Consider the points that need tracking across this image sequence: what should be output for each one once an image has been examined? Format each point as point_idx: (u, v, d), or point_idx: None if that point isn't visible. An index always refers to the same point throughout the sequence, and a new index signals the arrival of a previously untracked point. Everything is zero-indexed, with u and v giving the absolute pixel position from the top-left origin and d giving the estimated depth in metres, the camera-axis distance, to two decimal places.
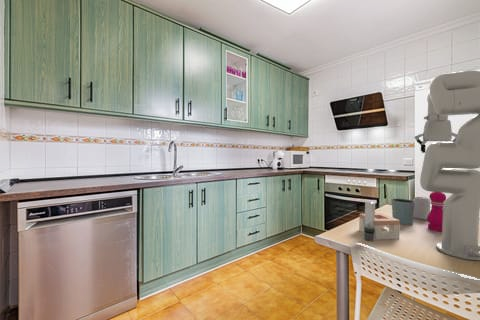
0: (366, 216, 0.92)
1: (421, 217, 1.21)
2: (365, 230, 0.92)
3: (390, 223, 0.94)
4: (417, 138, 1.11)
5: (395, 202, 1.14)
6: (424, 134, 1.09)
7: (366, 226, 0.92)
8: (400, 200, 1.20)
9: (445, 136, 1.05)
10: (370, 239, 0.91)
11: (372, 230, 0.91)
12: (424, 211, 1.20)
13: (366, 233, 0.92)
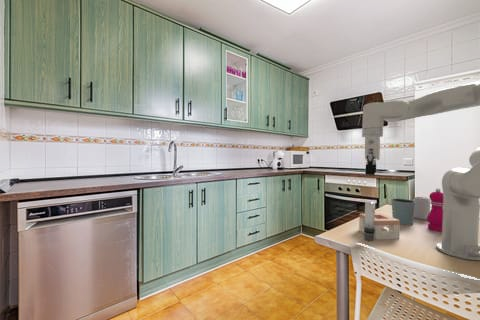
0: (366, 216, 0.92)
1: (421, 217, 1.21)
2: (365, 230, 0.92)
3: (390, 223, 0.94)
4: (371, 156, 0.85)
5: (395, 202, 1.14)
6: (375, 152, 0.87)
7: (366, 226, 0.92)
8: (400, 200, 1.20)
9: None
10: (370, 239, 0.91)
11: (372, 230, 0.91)
12: (424, 211, 1.20)
13: (366, 233, 0.92)
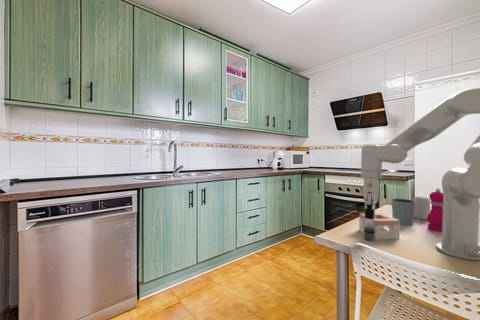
0: None
1: (421, 217, 1.21)
2: (365, 230, 0.92)
3: (390, 223, 0.94)
4: (370, 204, 0.88)
5: (395, 202, 1.14)
6: (373, 199, 0.87)
7: (366, 226, 0.92)
8: (400, 200, 1.20)
9: None
10: (370, 239, 0.91)
11: (372, 230, 0.91)
12: (424, 211, 1.20)
13: (366, 233, 0.92)
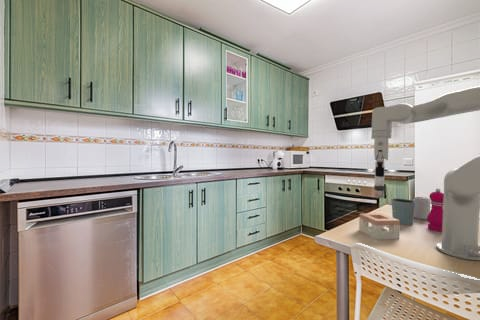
0: None
1: (421, 217, 1.21)
2: (375, 188, 0.98)
3: (390, 223, 0.94)
4: (381, 161, 0.93)
5: (395, 202, 1.14)
6: (384, 156, 0.93)
7: (376, 184, 0.98)
8: (400, 200, 1.20)
9: None
10: (380, 196, 0.97)
11: (382, 187, 0.97)
12: (424, 211, 1.20)
13: (376, 190, 0.98)
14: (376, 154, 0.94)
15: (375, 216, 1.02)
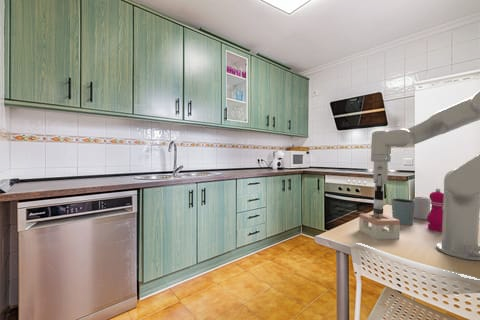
0: None
1: (421, 217, 1.21)
2: (374, 210, 0.99)
3: (390, 223, 0.94)
4: (380, 185, 0.94)
5: (395, 202, 1.14)
6: (383, 181, 0.94)
7: (375, 207, 0.98)
8: (400, 200, 1.20)
9: None
10: None
11: (381, 210, 0.97)
12: (424, 211, 1.20)
13: (375, 213, 0.98)
14: (375, 178, 0.95)
15: None
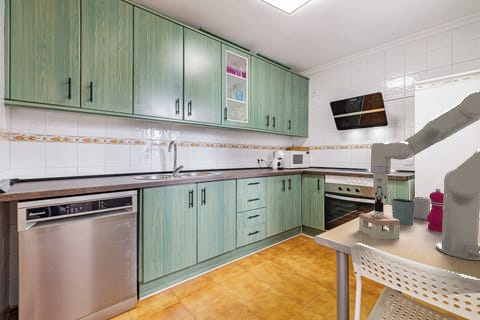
0: (375, 212, 0.98)
1: (421, 217, 1.21)
2: None
3: (390, 223, 0.94)
4: (380, 196, 0.93)
5: (395, 202, 1.14)
6: (383, 191, 0.93)
7: None
8: (400, 200, 1.20)
9: None
10: None
11: None
12: (424, 211, 1.20)
13: None
14: (375, 190, 0.95)
15: None
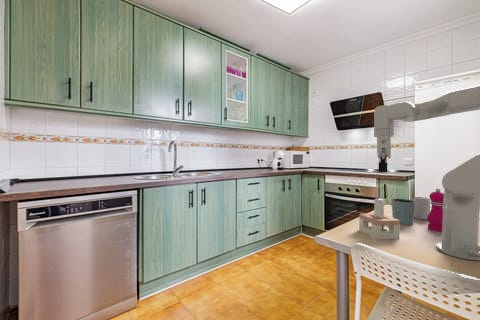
0: (375, 212, 0.98)
1: (421, 217, 1.21)
2: None
3: (390, 223, 0.94)
4: (384, 155, 0.92)
5: (395, 202, 1.14)
6: (387, 150, 0.94)
7: None
8: (400, 200, 1.20)
9: None
10: None
11: None
12: (424, 211, 1.20)
13: None
14: (379, 152, 0.95)
15: None
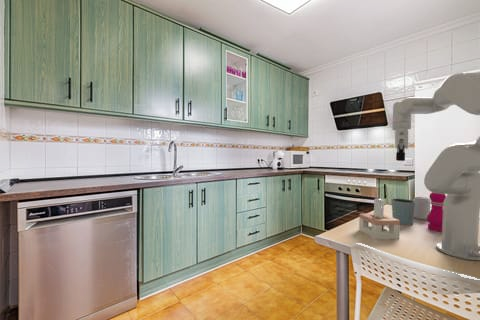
0: (375, 212, 0.98)
1: (421, 217, 1.21)
2: None
3: (390, 223, 0.94)
4: (402, 145, 1.03)
5: (395, 202, 1.14)
6: (405, 141, 1.05)
7: None
8: (400, 200, 1.20)
9: None
10: None
11: None
12: (424, 211, 1.20)
13: None
14: (397, 143, 1.07)
15: None
